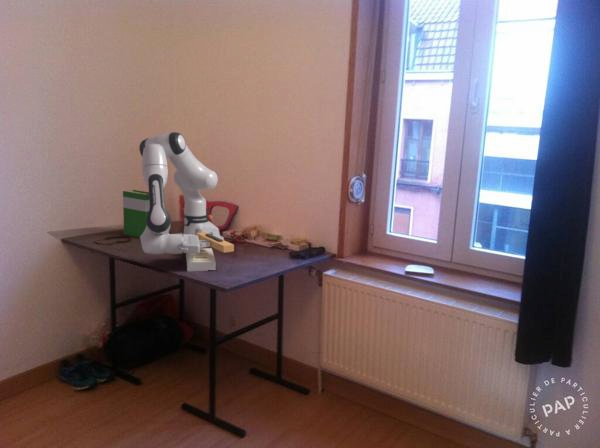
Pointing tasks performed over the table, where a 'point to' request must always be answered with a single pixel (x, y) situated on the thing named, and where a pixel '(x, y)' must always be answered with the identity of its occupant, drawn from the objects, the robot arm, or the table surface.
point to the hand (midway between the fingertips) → (209, 243)
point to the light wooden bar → (215, 241)
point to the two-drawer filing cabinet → (201, 260)
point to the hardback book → (135, 212)
